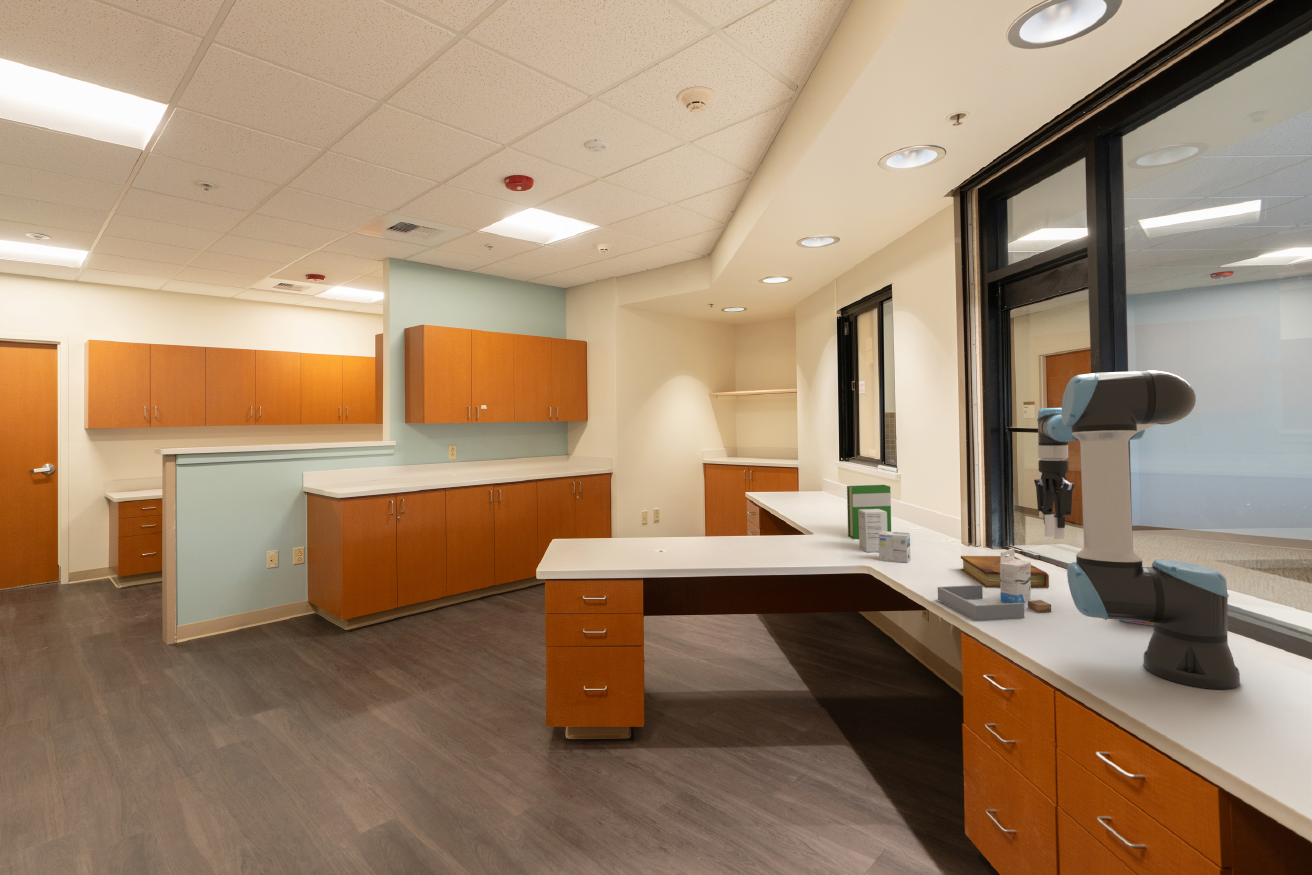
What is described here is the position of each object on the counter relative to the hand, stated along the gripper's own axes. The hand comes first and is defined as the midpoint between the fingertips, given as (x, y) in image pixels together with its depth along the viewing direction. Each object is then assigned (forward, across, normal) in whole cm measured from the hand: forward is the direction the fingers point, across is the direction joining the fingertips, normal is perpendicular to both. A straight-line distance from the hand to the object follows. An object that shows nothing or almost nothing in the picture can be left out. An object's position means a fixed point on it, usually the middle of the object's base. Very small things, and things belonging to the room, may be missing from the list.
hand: (1054, 537), depth 178 cm
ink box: (+19, 0, +12) cm, 23 cm away
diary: (+19, +24, 0) cm, 30 cm away
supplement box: (+19, +74, +22) cm, 80 cm away
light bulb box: (+19, +56, +22) cm, 63 cm away
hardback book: (+19, +100, +12) cm, 103 cm away
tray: (+19, -5, +27) cm, 33 cm away
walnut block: (+19, -9, +12) cm, 24 cm away
